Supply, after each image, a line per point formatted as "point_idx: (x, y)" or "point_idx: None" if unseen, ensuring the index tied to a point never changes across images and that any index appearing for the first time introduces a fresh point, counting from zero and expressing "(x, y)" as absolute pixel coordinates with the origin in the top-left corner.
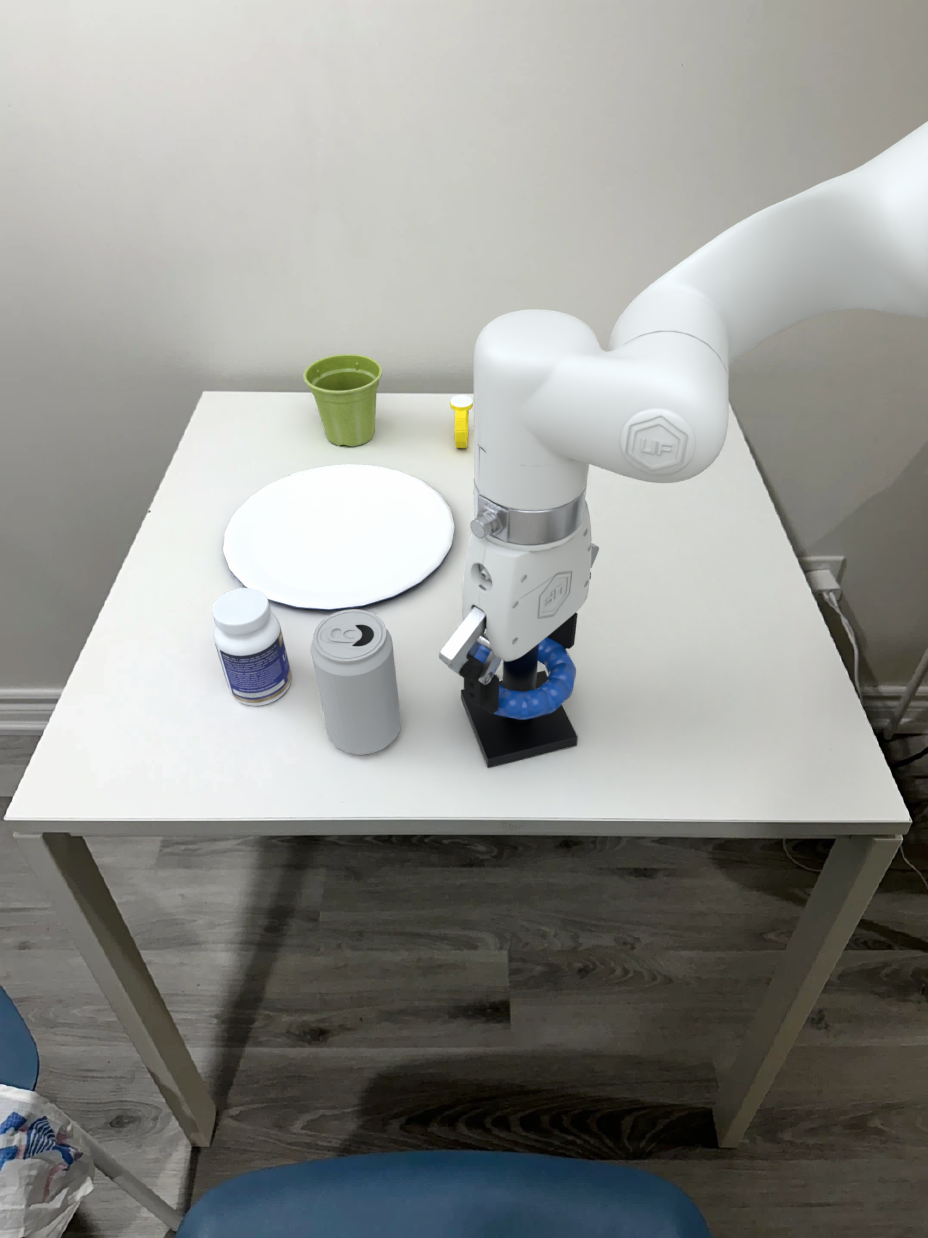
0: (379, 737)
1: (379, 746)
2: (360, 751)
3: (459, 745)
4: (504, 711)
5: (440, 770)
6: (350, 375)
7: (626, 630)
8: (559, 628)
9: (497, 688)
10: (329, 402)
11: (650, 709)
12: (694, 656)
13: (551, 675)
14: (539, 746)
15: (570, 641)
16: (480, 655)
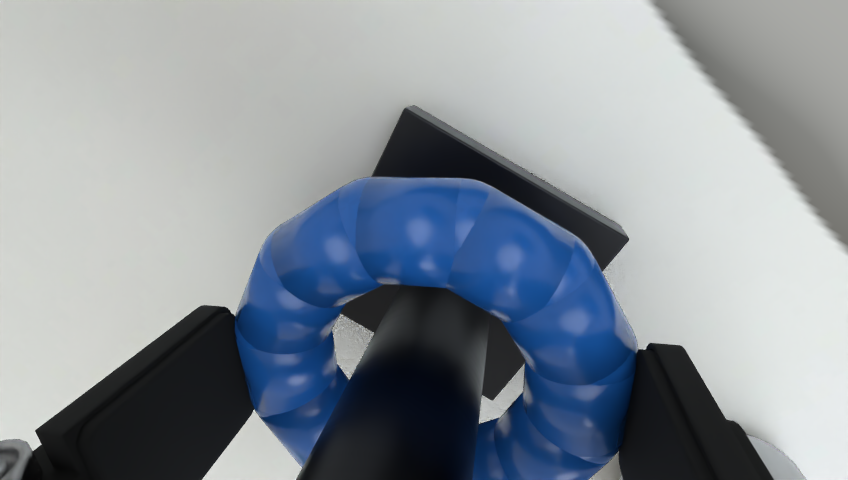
0: (779, 478)
1: (762, 449)
2: (799, 470)
3: None
4: (622, 318)
5: (697, 304)
6: None
7: (104, 230)
8: (187, 400)
9: (723, 467)
10: None
11: (196, 39)
12: (18, 68)
13: (363, 287)
14: (501, 165)
15: (198, 327)
16: None
